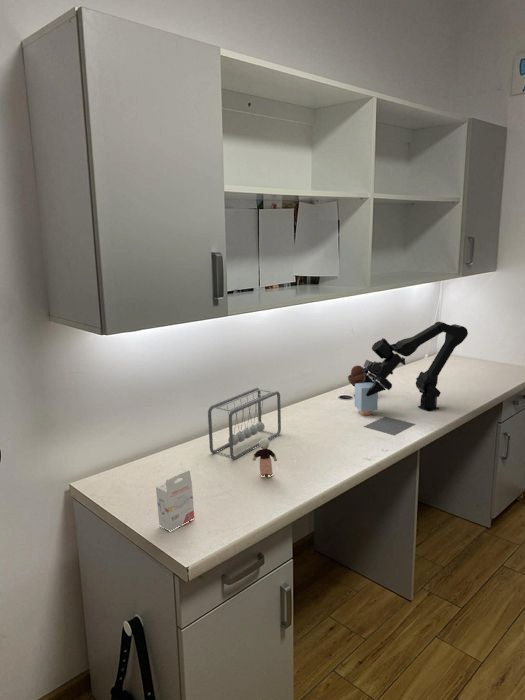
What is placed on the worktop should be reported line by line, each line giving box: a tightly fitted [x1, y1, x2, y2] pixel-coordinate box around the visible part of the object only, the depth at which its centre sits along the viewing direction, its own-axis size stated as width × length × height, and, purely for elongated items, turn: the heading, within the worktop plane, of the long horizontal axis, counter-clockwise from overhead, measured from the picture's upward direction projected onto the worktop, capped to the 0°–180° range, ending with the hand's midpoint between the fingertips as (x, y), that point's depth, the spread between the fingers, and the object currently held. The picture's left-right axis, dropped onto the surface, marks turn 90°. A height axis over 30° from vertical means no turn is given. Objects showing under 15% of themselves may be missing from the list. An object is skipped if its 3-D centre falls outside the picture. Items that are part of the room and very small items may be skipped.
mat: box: [363, 416, 416, 436], centre depth 207 cm, size 16×14×1 cm
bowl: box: [359, 410, 373, 417], centre depth 221 cm, size 5×5×4 cm
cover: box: [354, 382, 379, 412], centre depth 220 cm, size 7×7×10 cm
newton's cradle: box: [207, 387, 282, 460], centre depth 192 cm, size 30×10×18 cm, turn 144°
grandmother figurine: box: [252, 437, 278, 476], centre depth 166 cm, size 8×4×13 cm, turn 99°
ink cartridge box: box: [155, 469, 195, 531], centre depth 139 cm, size 9×5×15 cm, turn 138°
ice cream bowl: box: [347, 365, 365, 398], centre depth 245 cm, size 11×11×15 cm
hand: (363, 393), depth 219 cm, fingers closed on cover, 7 cm apart
